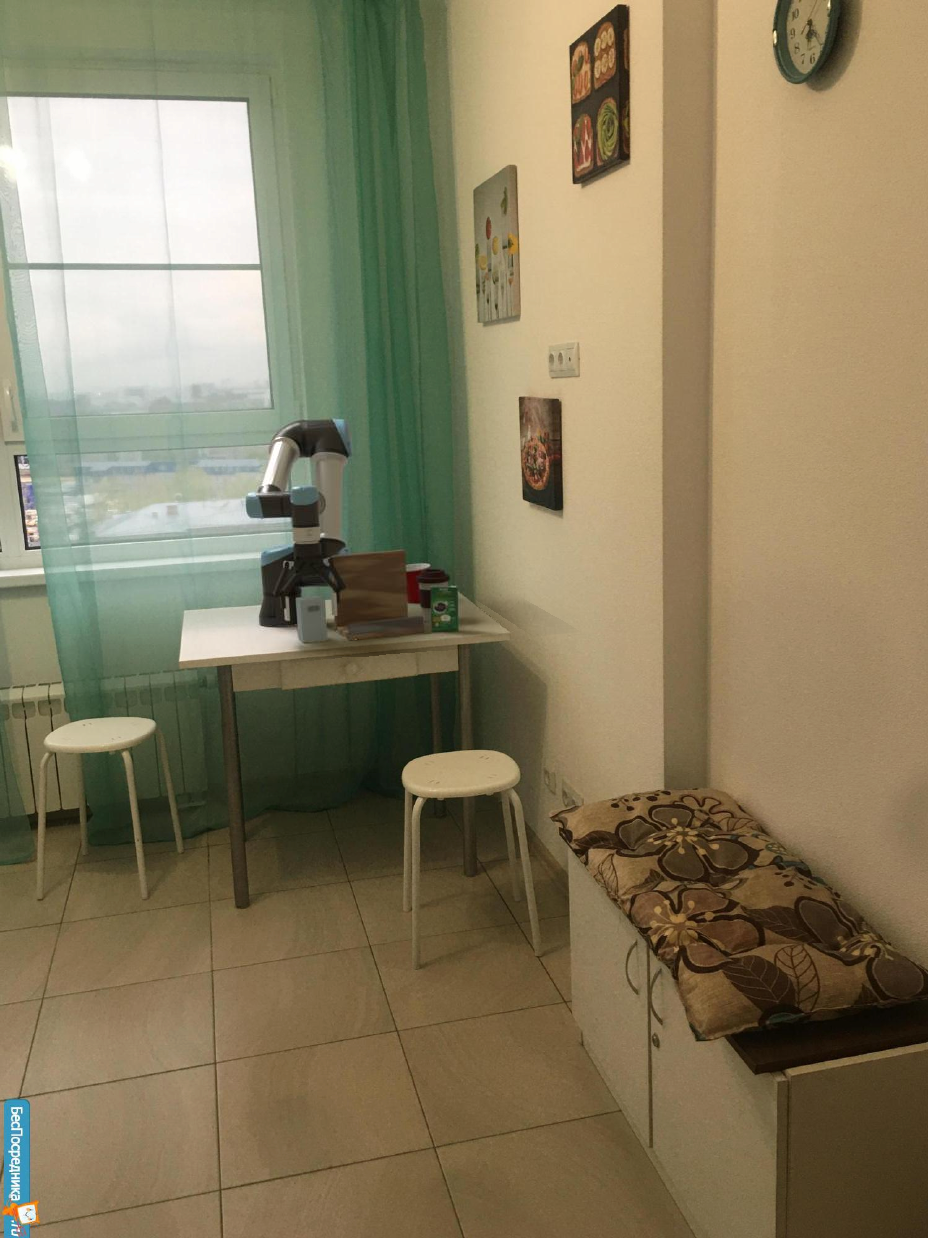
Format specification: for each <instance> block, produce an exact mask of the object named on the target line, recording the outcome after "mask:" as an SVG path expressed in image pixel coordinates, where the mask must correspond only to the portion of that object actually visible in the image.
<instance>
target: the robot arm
mask: <svg viewBox="0 0 928 1238" xmlns="http://www.w3.org/2000/svg"><path fill="white" fill-rule="evenodd" d="M352 436H353V435H352V432H351V428H350V424H349V423H348V421H347V420H346V419H343V418H341V419H340V418H339V419H338V418H337V419H336V418H330V419H328V418H325V419H299V420H298V419H297V420H295V421H292V422H289V423H288V424H285V425H284V426H283V427H282V428H280V430H278V431H277V432H276V433H275V434H274V435H273V437H272V438H271V441H270V443H269V446H268V455H269V457H268V459H267V462H266V465H265V467H264V471H263V475H262V477H261V481H260V483H259V486H258V489H257V491H256V490H255V491H250V492H248V493H247V494H246V497H245V511H246V514H247V516H248V517H249V518H250V519H261V520H264V519H281V518H282V519H287V518H289V519H291V522H292V540H293V542H294V543H288V544H281V545H275V546H271V547H268V548H266V549H263V551H262V552H261V554H260V571H261V572H260V573H261V582H262V583H261V585H262V597H263V598H262V602H261V604H260V605H261V606H260V610H259V614H258V623H259V624H260V625H262V626H265V627H288V626H291V627H292V626H298V624H297V608H296V598H301V597H303V593H302V591H303V590H302V588H331V590H332V591H330V599H331V615H332V616H337V603H340V591H341V590H344V589H346V586H345V584H344V583H343V581H342V579H341V577H340V575H339V574H338V572H337V570H336V568H335V567H334V563H333V559H332V558H331V556H336V555H348V554H352V552H351V551H352V550H351V549H350V548H349V547H347V543H346V541H344V540H343V538H342V517H343V515H342V514H343V513H342V512H343V482H344V481H343V477H344V475H343V474H344V467H345V466H346V465H348V463H349V458H351V457H353V456H354V444H353V437H352ZM303 458H304V459H305V458H307V459H308V458H309V460H310V463H311V464H312V465H313V466H314V485H313V484H312V485H310V484H309V485H305V484H304V485H295V486H292V487H291V489H290V490H287V491H286V489H287V486H288V483H289V480H290V476H291V473H292V469H293V467H294V464H295V463H296V462H297V461H298V460H299V459H303ZM332 575H333V577H334V578H335V580H336V582H337V584H338V586H336V585H335V584H334V583H333V582H332ZM333 590H334V592H333Z"/></svg>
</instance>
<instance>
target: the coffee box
mask: <svg viewBox="0 0 928 1238" xmlns="http://www.w3.org/2000/svg"><path fill="white" fill-rule="evenodd" d="M430 624H431V625H430V628H431V629H430V630H431V631H430V632H437V631H438V632H459V586H458V585H448V586H431V622H430Z"/></svg>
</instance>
